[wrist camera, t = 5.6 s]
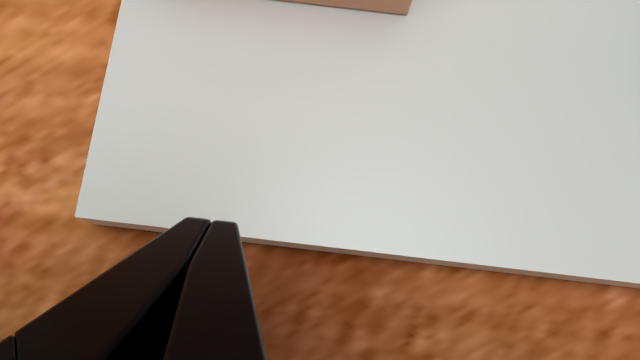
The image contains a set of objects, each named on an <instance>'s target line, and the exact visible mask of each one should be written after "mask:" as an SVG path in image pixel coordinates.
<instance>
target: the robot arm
mask: <svg viewBox="0 0 640 360" xmlns="http://www.w3.org/2000/svg"><path fill="white" fill-rule="evenodd" d="M0 360H267V358H266V353H265V349H264V344H263V339H262V335H261V330H260V325H259V321H258V316H257V311H256V307H255V302H254V298H253V293H252V288H251V284H250V279H249V274H248V270H247V265H246V260H245V256H244V251H243V247H242V242H241V237H240V233H239V228H238V225H237V223H235V222H230V221H221V220H214V221H213V222H211V220H209V219H204V218H196V217H186V218H184V219H183V220H181V221H180V222H178V223H177V224H175V225H174V226H172V227H171V228H169V229H168V230H166V231H165V232H163V233H162V234H160V235H159V236H157V237H156V238H154V239H153V240H152V241H150V242H149V243H147V244H146V245H144V246H143V247H141V248H140V249H138V250H137V251H135V252H134V253H132V254H131V255H129V256H128V257H126V258H125V259H123V260H122V261H120V262H119V263H117V264H116V265H114V266H113V267H111V268H110V269H108V270H107V271H105V272H104V273H102V274H101V275H99V276H98V277H97V278H95V279H94V280H92V281H91V282H89V283H88V284H86V285H85V286H83V287H82V288H80V289H79V290H77V291H76V292H74V293H73V294H71V295H70V296H68V297H67V298H65V299H64V300H62V301H61V302H59V303H58V304H56V305H55V306H53V307H52V308H50V309H49V310H47V311H46V312H44V313H43V314H41V315H40V316H39V317H37V318H36V319H34V320H33V321H31V322H30V323H28V324H27V325H25V326H24V327H22V328H21V329H19V330H18V331H16V333H15V337H14V336H13V335H10V336H8V337H7V338H5V339H4V340H2V341H1V342H0Z"/></svg>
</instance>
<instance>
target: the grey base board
mask: <svg viewBox="0 0 640 360" xmlns="http://www.w3.org/2000/svg"><path fill="white" fill-rule="evenodd" d="M75 217H76V218H79V219H82V220H85V221H88V222H91V223H94V224H97V225H104V226H112V227H121V228H129V229H138V230H146V231H155V232H165V231H166V230H168V229H169V228H171V227H172V226H174V225H175V224H177V223H178V222H180V221H181V220H183V219H184V218H186V217H196V218H204V219H209V220H211V222H213V221H214V220H221V221H230V222H235V223H237V225H238V228H239V233H240V237H241V242H248V243H257V244H265V245H274V246H282V247H291V248H299V249H308V250H316V251H325V252H333V253H342V254H350V255H359V256H367V257H376V258H384V259H393V260H401V261H410V262H418V263H427V264H435V265H444V266H452V267H461V268H469V269H478V270H486V271H495V272H503V273H512V274H520V275H529V276H537V277H546V278H554V279H563V280H571V281H580V282H588V283H597V284H605V285H614V286H622V287H631V288H639V289H640V0H412V3H411V6H410V8H409V11H408V14H407V15H404V14H396V13H387V12H378V11H370V10H361V9H353V8H344V7H335V6H327V5H318V4H310V3H301V2H292V1H284V0H122V1H121V6H120V10H119V15H118V20H117V24H116V29H115V33H114V38H113V43H112V47H111V52H110V56H109V61H108V66H107V70H106V75H105V79H104V84H103V89H102V93H101V98H100V102H99V107H98V111H97V116H96V121H95V125H94V130H93V134H92V139H91V144H90V148H89V153H88V157H87V162H86V167H85V171H84V176H83V180H82V185H81V190H80V194H79V199H78V203H77V208H76V212H75Z"/></svg>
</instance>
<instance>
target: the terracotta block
mask: <svg viewBox="0 0 640 360" xmlns="http://www.w3.org/2000/svg"><path fill="white" fill-rule="evenodd" d="M284 1H292V2H301V3H310V4H318V5H327V6H335V7H344V8H353V9H361V10H370V11H378V12H387V13H396V14H404V15H407V14H408V11H409V8H410V6H411V3H412V0H284Z"/></svg>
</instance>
